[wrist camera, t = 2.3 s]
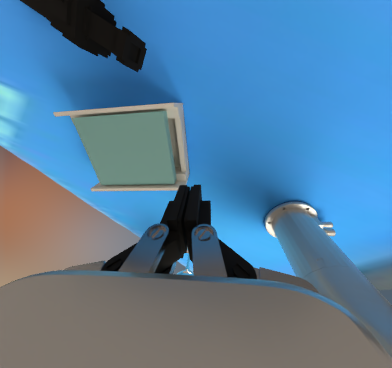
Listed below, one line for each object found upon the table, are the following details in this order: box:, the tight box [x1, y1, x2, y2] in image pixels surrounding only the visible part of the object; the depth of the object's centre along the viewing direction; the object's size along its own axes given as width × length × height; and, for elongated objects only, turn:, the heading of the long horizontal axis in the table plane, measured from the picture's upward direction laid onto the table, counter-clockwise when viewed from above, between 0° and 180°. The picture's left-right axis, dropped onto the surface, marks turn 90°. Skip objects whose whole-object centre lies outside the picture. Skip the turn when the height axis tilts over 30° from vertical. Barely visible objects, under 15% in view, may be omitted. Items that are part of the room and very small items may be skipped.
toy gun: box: [20, 0, 147, 72], centre depth 20 cm, size 6×25×10 cm, turn 61°
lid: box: [72, 111, 177, 185], centre depth 27 cm, size 16×13×2 cm
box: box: [53, 103, 190, 191], centre depth 29 cm, size 20×15×8 cm
